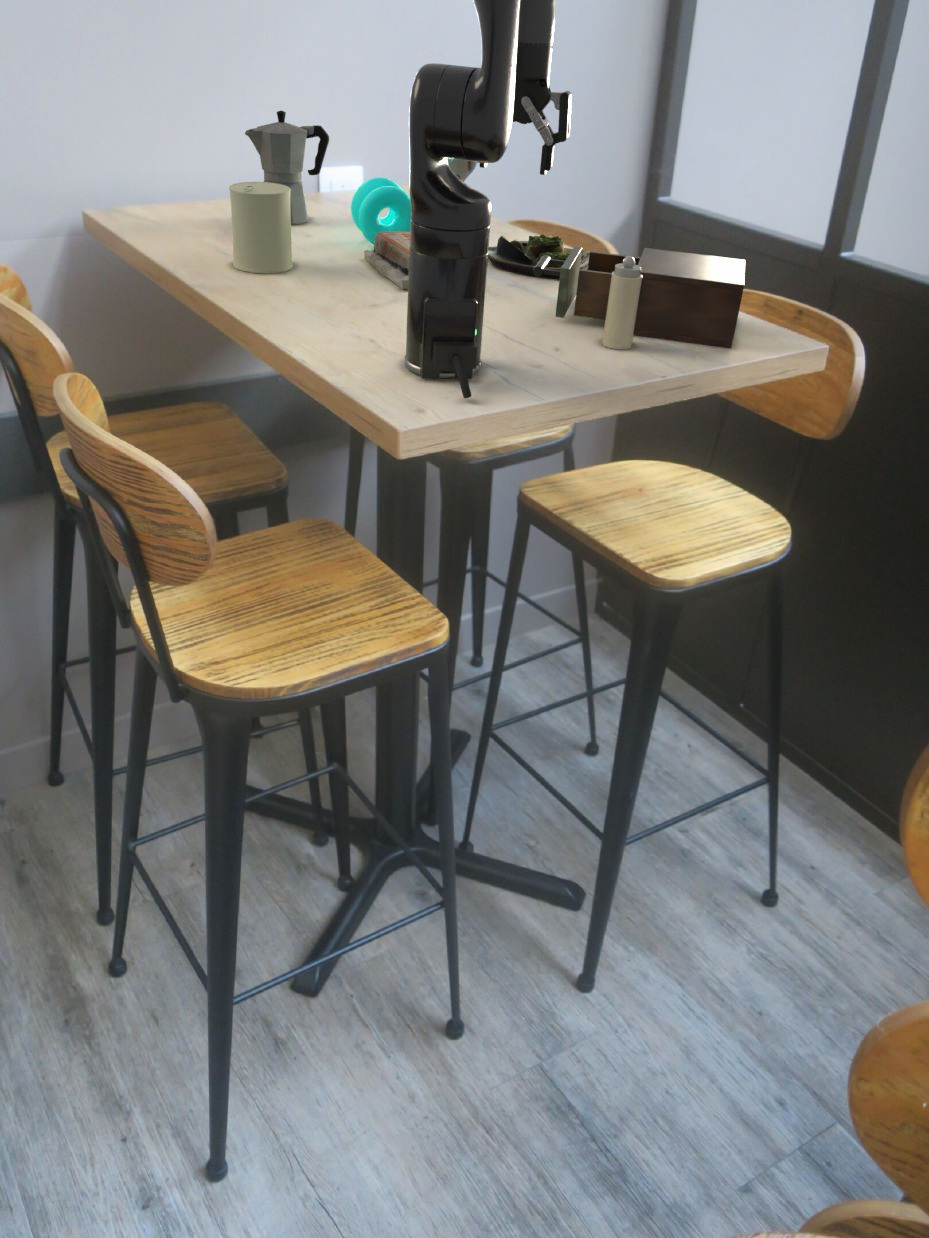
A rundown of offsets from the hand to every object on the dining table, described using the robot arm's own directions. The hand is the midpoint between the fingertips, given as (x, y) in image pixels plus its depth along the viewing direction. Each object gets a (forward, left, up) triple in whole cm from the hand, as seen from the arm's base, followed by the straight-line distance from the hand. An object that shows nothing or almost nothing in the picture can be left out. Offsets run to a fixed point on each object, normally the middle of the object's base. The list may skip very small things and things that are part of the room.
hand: (513, 170), depth 145 cm
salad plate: (+23, -10, -19) cm, 31 cm away
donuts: (+34, +15, -19) cm, 41 cm away
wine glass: (+54, 0, -19) cm, 57 cm away
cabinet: (-9, -25, -18) cm, 32 cm away
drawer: (-5, -13, -17) cm, 22 cm away
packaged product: (+15, +12, -19) cm, 27 cm away
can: (+17, +35, -19) cm, 43 cm away
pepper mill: (-18, -13, -18) cm, 29 cm away
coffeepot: (+50, +31, -19) cm, 62 cm away
